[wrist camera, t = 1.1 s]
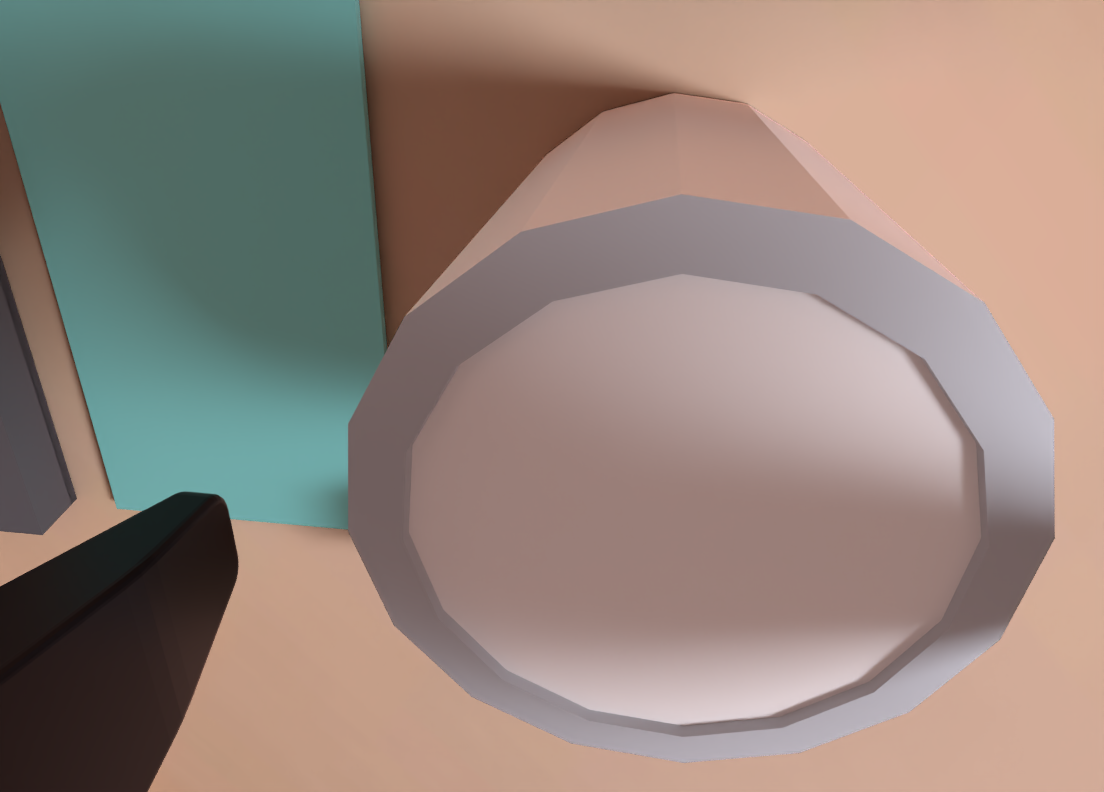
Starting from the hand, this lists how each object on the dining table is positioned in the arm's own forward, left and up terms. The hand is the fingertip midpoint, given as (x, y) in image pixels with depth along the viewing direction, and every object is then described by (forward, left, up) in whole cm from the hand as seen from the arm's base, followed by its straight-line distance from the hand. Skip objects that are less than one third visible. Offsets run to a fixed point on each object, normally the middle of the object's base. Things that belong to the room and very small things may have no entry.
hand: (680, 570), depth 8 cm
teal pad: (0, +8, -7) cm, 11 cm away
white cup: (0, 0, -8) cm, 8 cm away
